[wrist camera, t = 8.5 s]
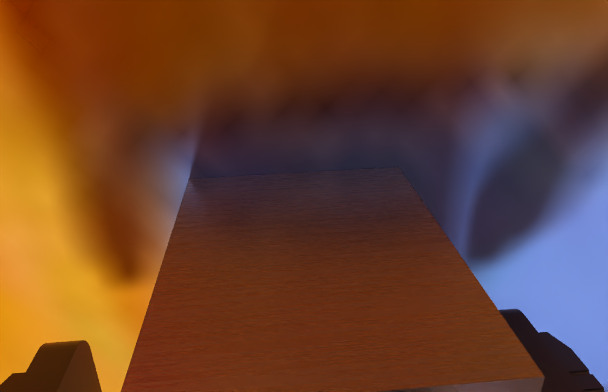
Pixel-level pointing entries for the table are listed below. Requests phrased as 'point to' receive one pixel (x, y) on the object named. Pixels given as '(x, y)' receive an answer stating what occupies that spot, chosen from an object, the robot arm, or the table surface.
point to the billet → (320, 294)
